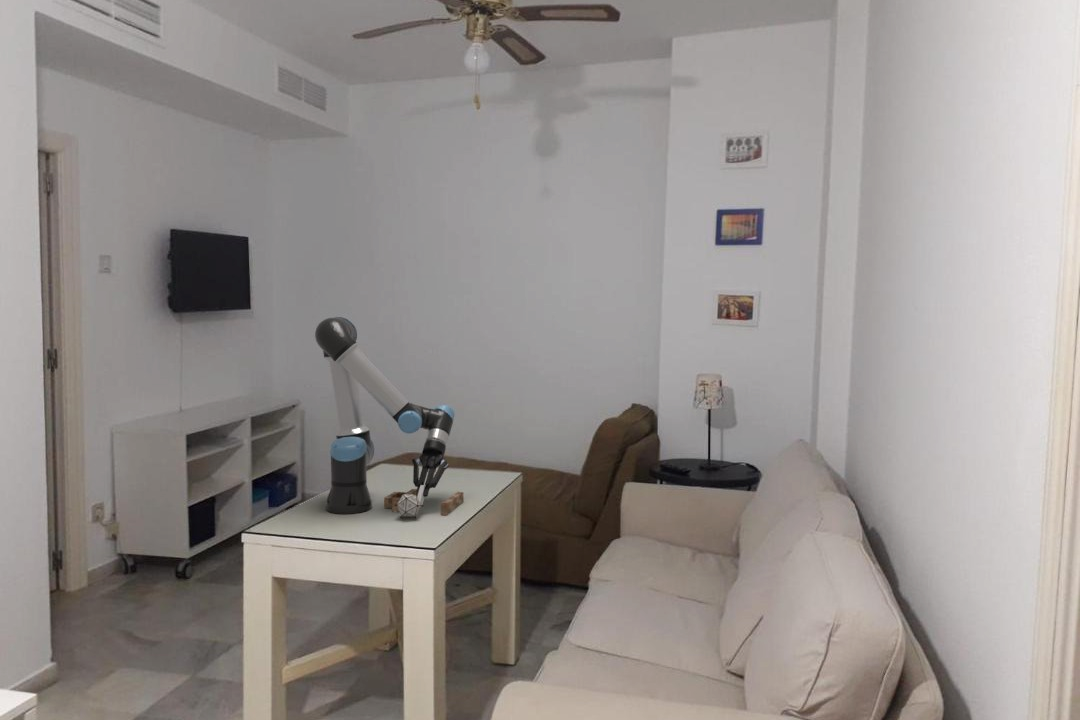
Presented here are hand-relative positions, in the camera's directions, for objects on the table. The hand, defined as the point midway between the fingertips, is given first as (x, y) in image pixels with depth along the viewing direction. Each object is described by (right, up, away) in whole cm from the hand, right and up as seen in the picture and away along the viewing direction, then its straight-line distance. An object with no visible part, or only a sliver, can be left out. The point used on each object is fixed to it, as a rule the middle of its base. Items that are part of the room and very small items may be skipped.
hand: (418, 504), depth 256 cm
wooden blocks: (0, -3, +12) cm, 12 cm away
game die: (-3, -4, -3) cm, 5 cm away
